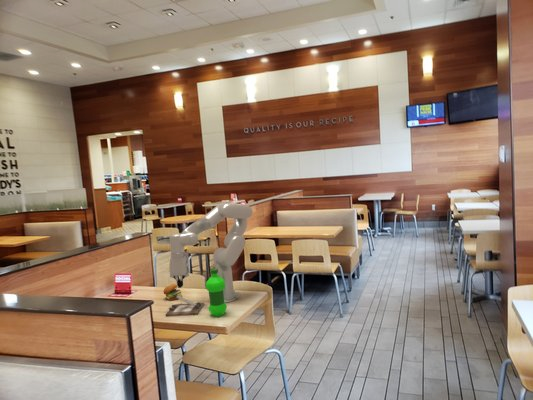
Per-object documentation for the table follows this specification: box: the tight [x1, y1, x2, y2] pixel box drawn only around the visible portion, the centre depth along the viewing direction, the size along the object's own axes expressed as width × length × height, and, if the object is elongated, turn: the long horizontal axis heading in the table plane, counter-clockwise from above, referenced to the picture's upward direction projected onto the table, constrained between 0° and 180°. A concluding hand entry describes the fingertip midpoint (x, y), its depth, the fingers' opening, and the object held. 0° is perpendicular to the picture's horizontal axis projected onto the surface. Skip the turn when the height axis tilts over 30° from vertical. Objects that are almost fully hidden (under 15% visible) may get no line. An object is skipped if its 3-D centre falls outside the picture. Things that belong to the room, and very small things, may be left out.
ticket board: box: [164, 301, 205, 318], centre depth 222 cm, size 18×16×3 cm
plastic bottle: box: [205, 268, 228, 317], centre depth 211 cm, size 10×10×25 cm
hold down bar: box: [174, 294, 197, 307], centre depth 222 cm, size 15×2×1 cm, turn 85°
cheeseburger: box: [163, 283, 183, 301], centre depth 246 cm, size 10×11×10 cm
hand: (180, 287), depth 221 cm, fingers closed
